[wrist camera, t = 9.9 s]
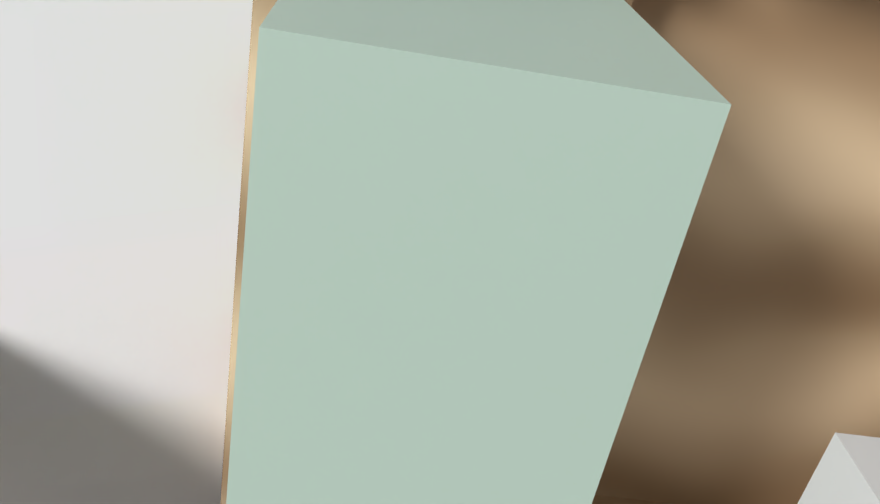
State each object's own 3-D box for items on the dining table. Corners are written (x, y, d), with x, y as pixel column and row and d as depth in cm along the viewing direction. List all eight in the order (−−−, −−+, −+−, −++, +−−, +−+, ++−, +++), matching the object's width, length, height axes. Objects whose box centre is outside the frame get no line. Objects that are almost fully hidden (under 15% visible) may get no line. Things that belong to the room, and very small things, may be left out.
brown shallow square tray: (290, -298, 16) (234, -340, 11) (1216, -109, 18) (1520, -73, 13) (234, 466, 26) (189, 631, 21) (853, 533, 28) (951, 698, 23)
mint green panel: (354, -114, 17) (259, 26, 7) (544, -79, 18) (737, 105, 7) (294, 413, 24) (198, 904, 13) (434, 430, 24) (449, 917, 14)
